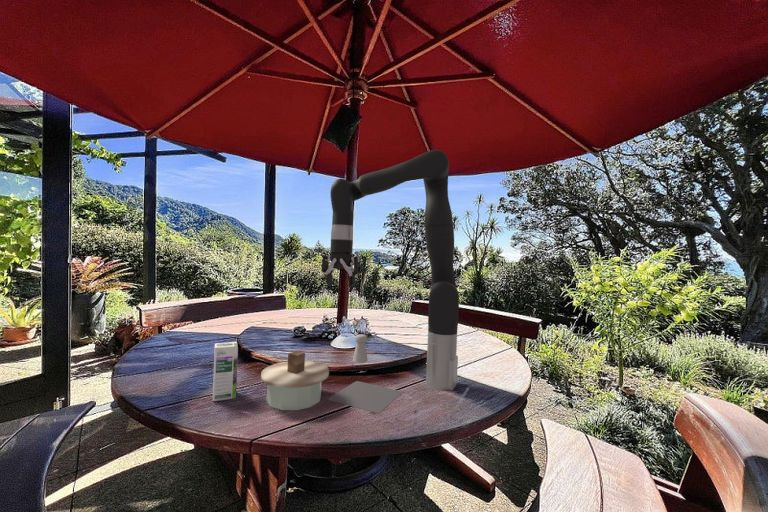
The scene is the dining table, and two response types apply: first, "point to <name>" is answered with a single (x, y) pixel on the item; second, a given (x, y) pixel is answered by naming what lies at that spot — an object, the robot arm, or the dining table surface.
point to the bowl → (293, 397)
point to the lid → (295, 372)
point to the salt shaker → (360, 349)
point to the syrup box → (225, 371)
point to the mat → (366, 396)
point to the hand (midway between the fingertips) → (340, 286)
